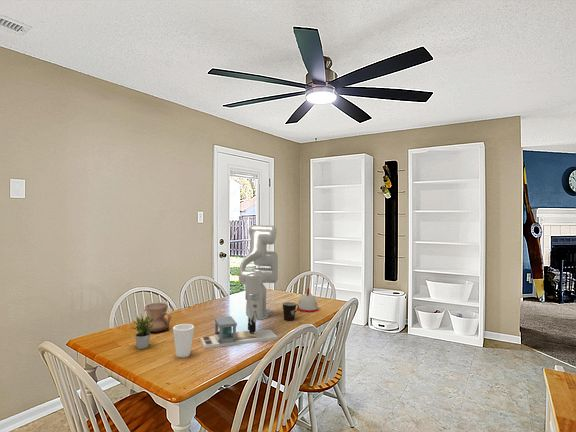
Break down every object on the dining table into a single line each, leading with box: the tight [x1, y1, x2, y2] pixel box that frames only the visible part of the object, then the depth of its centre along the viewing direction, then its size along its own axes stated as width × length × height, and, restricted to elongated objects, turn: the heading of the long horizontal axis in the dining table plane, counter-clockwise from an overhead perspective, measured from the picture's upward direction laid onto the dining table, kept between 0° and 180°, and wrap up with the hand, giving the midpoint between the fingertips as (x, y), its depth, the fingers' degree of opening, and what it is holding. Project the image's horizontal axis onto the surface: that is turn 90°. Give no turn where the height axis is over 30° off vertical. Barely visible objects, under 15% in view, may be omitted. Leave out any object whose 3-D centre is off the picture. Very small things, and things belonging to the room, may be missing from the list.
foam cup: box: [172, 323, 195, 358], centre depth 163 cm, size 10×9×13 cm
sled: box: [214, 320, 258, 342], centre depth 183 cm, size 21×8×8 cm, turn 113°
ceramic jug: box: [143, 301, 172, 333], centre depth 196 cm, size 18×14×14 cm
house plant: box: [128, 313, 158, 350], centre depth 170 cm, size 14×14×16 cm
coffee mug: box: [282, 301, 299, 322], centre depth 222 cm, size 12×9×10 cm
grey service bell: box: [297, 287, 319, 314], centre depth 245 cm, size 14×14×15 cm
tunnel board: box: [200, 315, 279, 350], centre depth 184 cm, size 38×13×11 cm, turn 113°
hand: (251, 330), depth 187 cm, fingers closed on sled, 2 cm apart
